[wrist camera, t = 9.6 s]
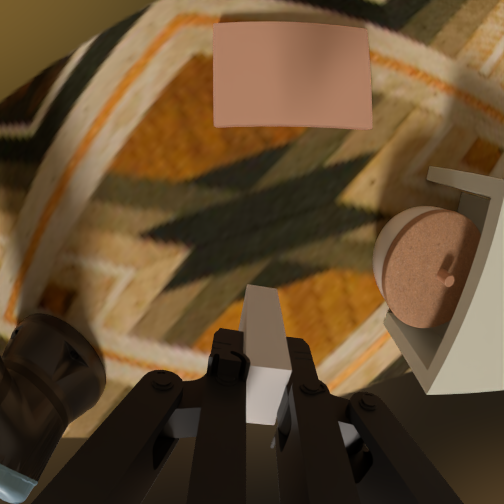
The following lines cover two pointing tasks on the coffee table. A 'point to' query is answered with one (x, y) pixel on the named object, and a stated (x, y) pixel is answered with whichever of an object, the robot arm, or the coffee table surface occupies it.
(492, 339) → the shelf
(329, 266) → the coffee table surface
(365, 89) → the book
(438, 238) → the lidded jar
